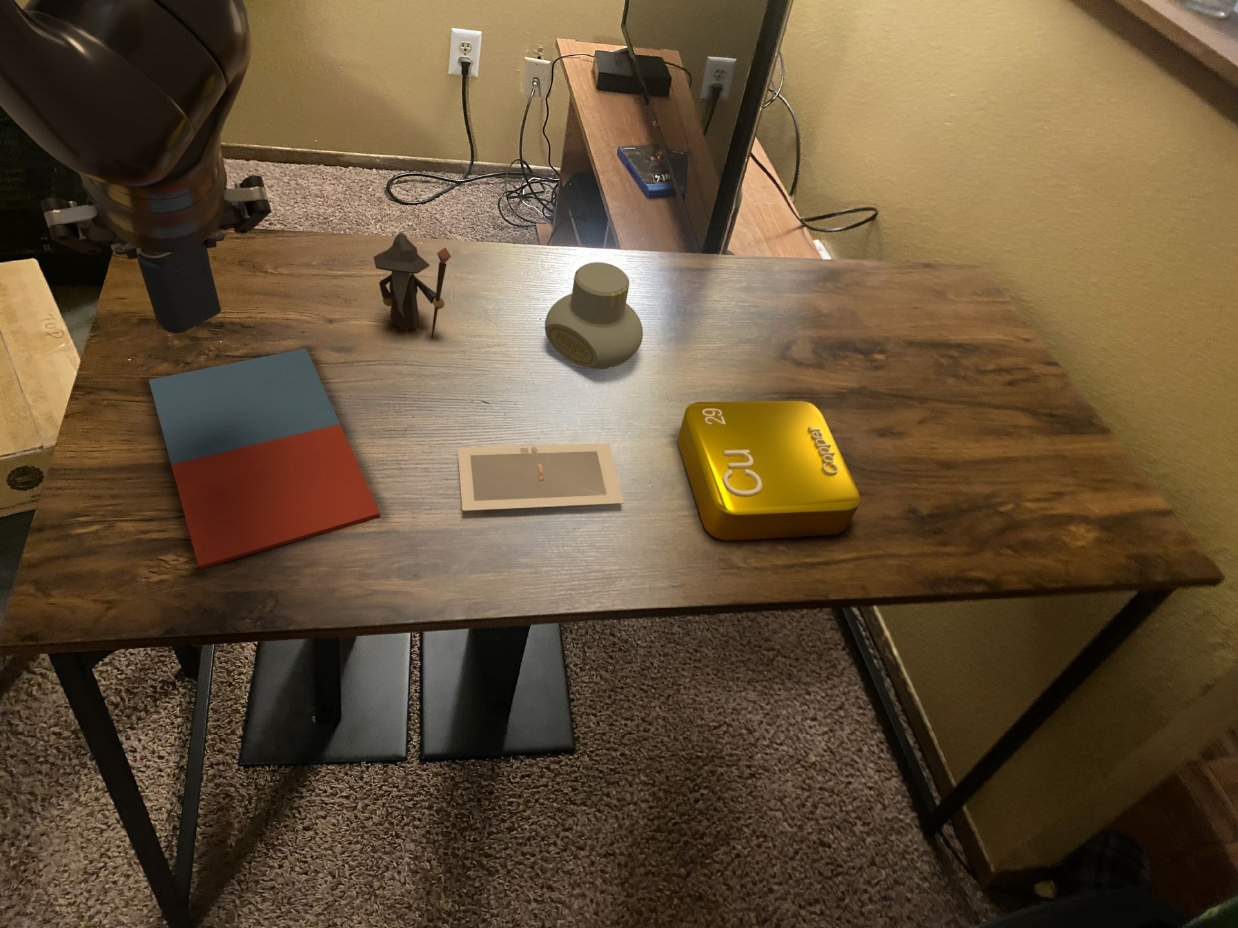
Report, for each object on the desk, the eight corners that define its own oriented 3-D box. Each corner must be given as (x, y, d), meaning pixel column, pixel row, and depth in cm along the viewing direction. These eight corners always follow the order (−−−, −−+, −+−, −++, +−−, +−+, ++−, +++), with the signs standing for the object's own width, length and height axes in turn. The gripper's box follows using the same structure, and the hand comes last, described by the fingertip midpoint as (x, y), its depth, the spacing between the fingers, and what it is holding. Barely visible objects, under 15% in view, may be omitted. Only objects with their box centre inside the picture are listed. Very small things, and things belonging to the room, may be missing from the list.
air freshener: (649, 356, 96) (666, 284, 89) (607, 390, 91) (621, 317, 83) (575, 313, 99) (585, 240, 92) (530, 343, 94) (537, 269, 87)
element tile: (852, 536, 82) (870, 504, 78) (707, 543, 78) (719, 511, 75) (803, 427, 91) (817, 395, 88) (672, 430, 88) (681, 396, 85)
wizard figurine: (372, 337, 91) (364, 242, 82) (383, 306, 95) (376, 212, 86) (449, 347, 92) (449, 253, 83) (456, 316, 95) (457, 223, 87)
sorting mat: (199, 569, 68) (198, 566, 68) (149, 383, 81) (148, 379, 81) (380, 516, 75) (379, 513, 74) (306, 351, 88) (306, 347, 87)
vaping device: (229, 310, 70) (197, 177, 61) (173, 339, 66) (132, 203, 58) (207, 297, 70) (174, 164, 62) (151, 325, 67) (107, 188, 58)
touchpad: (622, 510, 79) (625, 495, 78) (462, 518, 76) (462, 502, 74) (607, 450, 85) (610, 435, 83) (457, 455, 81) (457, 439, 80)
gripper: (263, 100, 52) (252, 181, 67) (-8, 120, 46) (47, 204, 61) (296, 220, 53) (278, 273, 68) (35, 255, 47) (79, 304, 62)
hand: (169, 240), depth 65 cm, fingers closed on vaping device, 5 cm apart
